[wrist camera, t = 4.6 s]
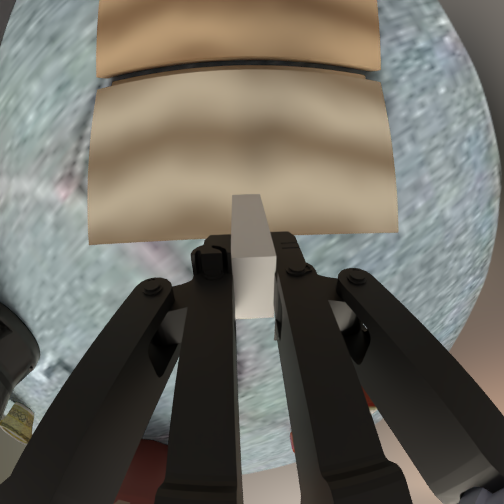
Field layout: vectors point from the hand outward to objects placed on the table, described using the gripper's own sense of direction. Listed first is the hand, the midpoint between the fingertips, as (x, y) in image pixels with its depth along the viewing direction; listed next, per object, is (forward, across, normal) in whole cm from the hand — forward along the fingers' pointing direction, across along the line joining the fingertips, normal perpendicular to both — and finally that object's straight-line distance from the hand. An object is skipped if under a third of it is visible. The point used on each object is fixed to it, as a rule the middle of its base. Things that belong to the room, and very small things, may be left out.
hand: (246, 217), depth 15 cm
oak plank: (+9, 0, -15) cm, 17 cm away
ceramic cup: (+9, +64, +54) cm, 84 cm away
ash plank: (+6, 0, -3) cm, 7 cm away
